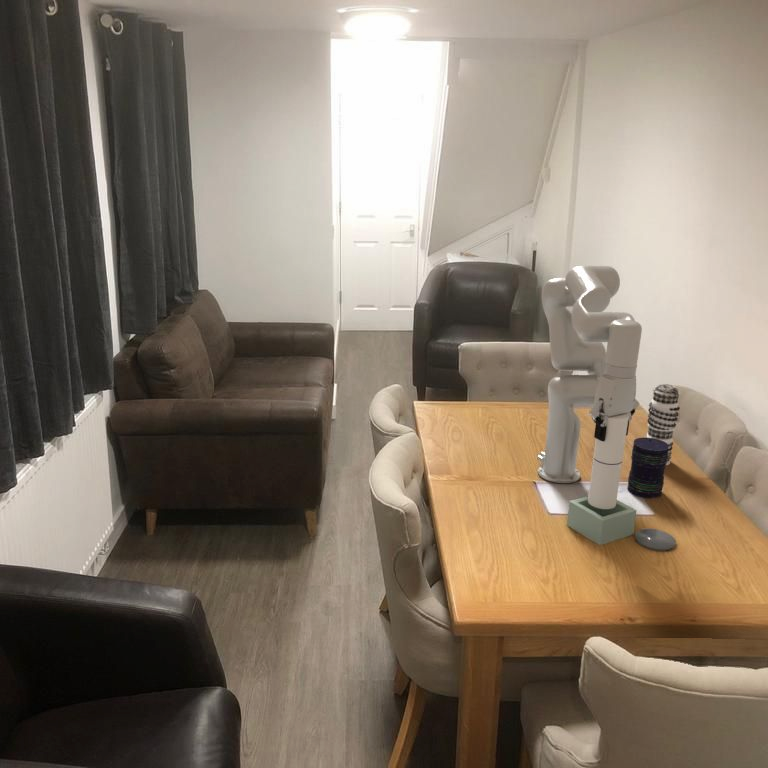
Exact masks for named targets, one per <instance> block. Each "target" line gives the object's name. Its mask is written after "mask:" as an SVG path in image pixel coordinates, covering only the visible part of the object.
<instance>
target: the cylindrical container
mask: <svg viewBox="0 0 768 768" xmlns="http://www.w3.org/2000/svg"><path fill="white" fill-rule="evenodd" d="M603 413H605V411H604V412H603ZM603 418H604V416H603V415H601V420H603ZM628 418H629V414H628V413H624V414H620V415H615V416H610V417H609V418H608V421H607V423H606V425H605V426H606V427H607V430H606V437H605V441H600V440H598V439H596V438H595V443H594V449H593V458H592V467H591V472H590V474H591V475H590V481H589V488H588V489H589V490H588V495H587V496H588V503H589V504H590V505H592V506H594V507H596V508H600V509H612V508H614V507H615V506H616V501H617V500H618V493H619V485H620V480H621V472H622V466H623V459H624V451H625V444H626V438H627V436H626V432H627V425H628Z"/></svg>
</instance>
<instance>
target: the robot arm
mask: <svg viewBox="0 0 768 768" xmlns="http://www.w3.org/2000/svg"><path fill="white" fill-rule="evenodd" d="M620 286H621V279H620V274H619V272H618V271H617V270H616V269H615V268H614V267H612V266H609V265H579V266H575V267H573V268H571V269H570V270H568V271H567V274H566V275H565V277H555V278H552V279H548V280H547V281H546V282H545V283H544V284H543V287H542V290H541V303H542V308H543V313H544V314H545V317H546V320H547V325H548V330H549V332H548V333H549V347H550V359H551V364H552V365H551V366H553V368H554V369H556V370H557V371H563V372H564V371H567V372H568V371H569V372H571V371H572V372H579V371H580V372H587V374H561V375H557V376H554V377H553V378H551V379H550V380H549V382H548V386H547V398H548V417H547V418H548V419H547V428H546V429H547V431H546V439H545V448H544V449H545V450H544V451H541V453H539V454H538V456H536V457H537V458H536V459H537V460H538V461H540V462H541V465H540V466H539V467H538V468H537V474H538V475H539V477H540V478H542V479H544V480H546V481H549V482H551V483H558V484H572V483H575V482H577V481H579V480H580V479H581V472H580V471H579V470H578V468H577V459H578V450H579V443H580V442H579V441H580V433H581V426H582V425H581V418H580V416H579V415H578V414H577V413H576V412H575V410H574V409H576V408H577V409H579V408H591V409H590V410H589V416H590V417H591V419H592V421H593V423H594V424H595V426H594V436H593V437H594V438H595V440H596V439H598V440H600V441H605V437H606V430H607V427H606V426H605V425H606V423H607V421H608V418H609V417H610V416H615V415H620V414H624V413H628V414H629V418H628V425H627V432H626V437H627V436H628V433H629V427H630V421H632V419H633V416H634V414H635V413H636V410H637V409H638V407H639V405H640V402H639V400H637V399H636V395H637V375H636V373H637V367H638V359H639V353H640V345H641V340H642V339H641V338H642V333H643V332H642V331H643V328H642V324H641V323H639V322H638V321H636V320H635V318H634V317H633V316H634V315H631V313H629V312H621V311H618V312H617V311H616V312H612V311H605V310H606V309H607V307H608V306H609V305H610V302H611V299H613V297H614V296H615V295H617V293H618V291H619V289H620ZM567 307H568V308H569V307H571V308H572V309H571V311H570V310H568V308H567ZM603 343H607V346H606V347H605V346H604V344H603ZM604 411H605V413H603V412H604ZM601 415H603V416H604V418H603V420H601Z"/></svg>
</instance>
